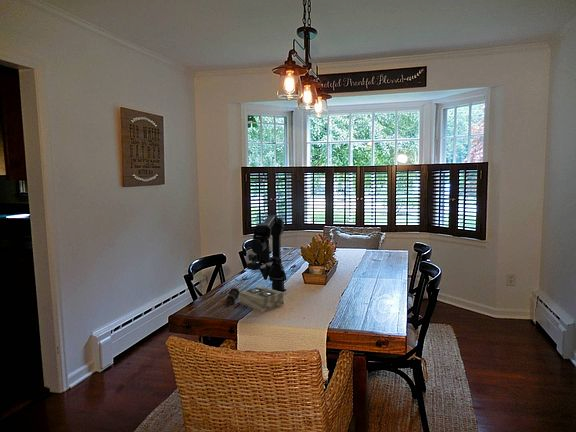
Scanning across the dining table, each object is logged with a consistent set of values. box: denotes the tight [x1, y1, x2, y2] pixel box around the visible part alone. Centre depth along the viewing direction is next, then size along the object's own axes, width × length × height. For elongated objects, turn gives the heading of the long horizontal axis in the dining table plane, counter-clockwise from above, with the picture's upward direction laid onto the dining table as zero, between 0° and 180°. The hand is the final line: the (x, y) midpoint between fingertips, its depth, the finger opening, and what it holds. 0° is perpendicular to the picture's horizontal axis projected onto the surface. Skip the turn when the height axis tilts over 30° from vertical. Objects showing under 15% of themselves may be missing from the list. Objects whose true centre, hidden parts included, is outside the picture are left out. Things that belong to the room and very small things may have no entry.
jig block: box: [238, 285, 285, 312], centre depth 213 cm, size 14×18×6 cm
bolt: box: [225, 287, 240, 306], centre depth 220 cm, size 6×5×15 cm
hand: (265, 279), depth 212 cm, fingers closed
